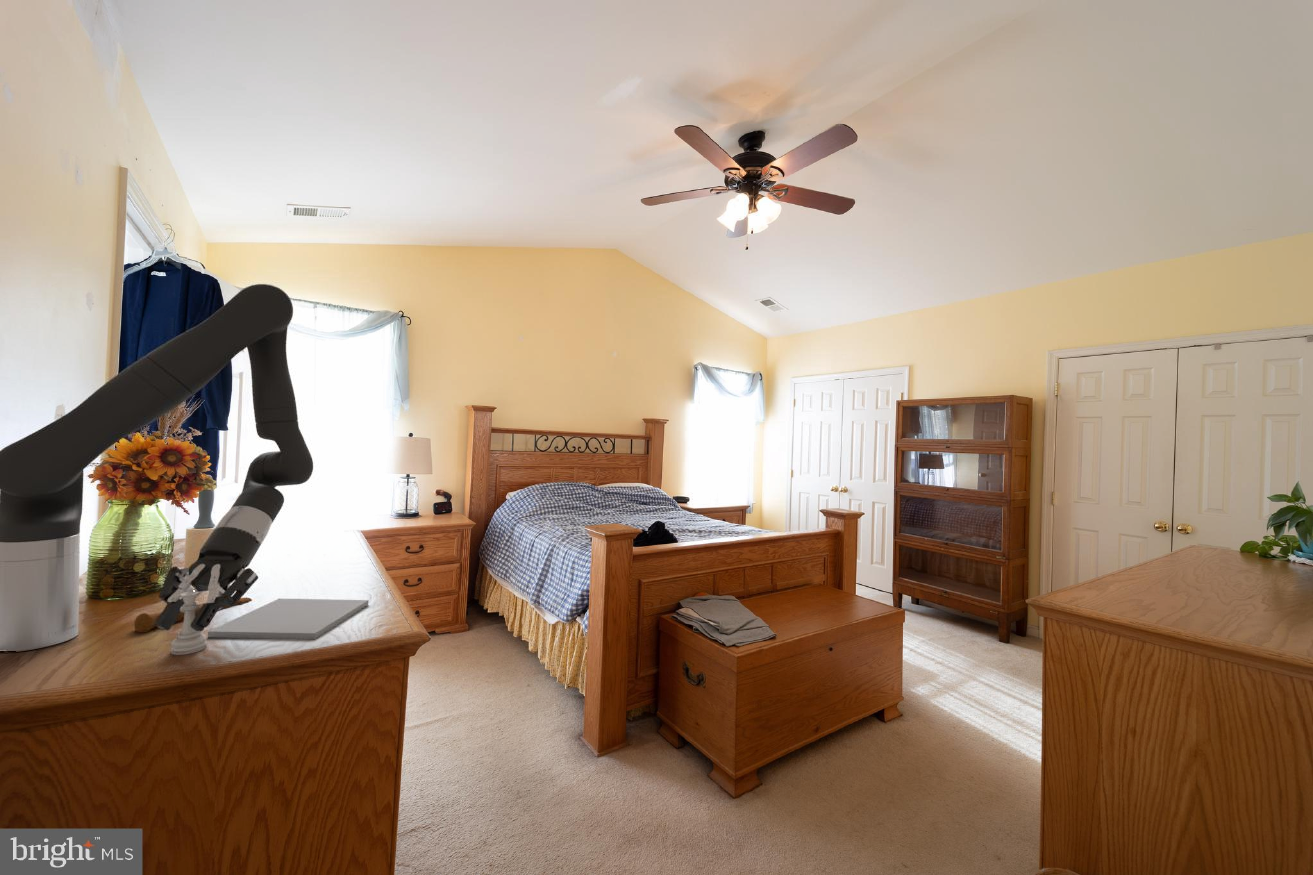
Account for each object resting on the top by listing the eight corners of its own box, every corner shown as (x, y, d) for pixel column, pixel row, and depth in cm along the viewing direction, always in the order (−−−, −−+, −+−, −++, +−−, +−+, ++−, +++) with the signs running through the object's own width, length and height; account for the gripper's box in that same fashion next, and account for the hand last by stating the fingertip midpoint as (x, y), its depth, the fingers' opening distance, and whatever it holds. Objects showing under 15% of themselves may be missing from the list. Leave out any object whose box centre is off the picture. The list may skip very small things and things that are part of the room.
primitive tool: (232, 599, 112) (232, 583, 112) (255, 602, 111) (255, 585, 111) (128, 634, 93) (129, 614, 93) (155, 637, 92) (156, 617, 92)
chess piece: (164, 652, 85) (165, 589, 85) (195, 642, 89) (196, 582, 89) (182, 656, 84) (183, 593, 84) (213, 646, 88) (214, 585, 88)
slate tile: (207, 637, 92) (207, 631, 92) (279, 603, 110) (279, 598, 110) (314, 639, 92) (315, 633, 92) (368, 604, 110) (368, 600, 110)
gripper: (185, 524, 94) (116, 617, 82) (268, 526, 94) (212, 618, 82) (209, 547, 99) (147, 638, 87) (287, 549, 99) (237, 639, 87)
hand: (179, 628), depth 85 cm, fingers open, 4 cm apart
